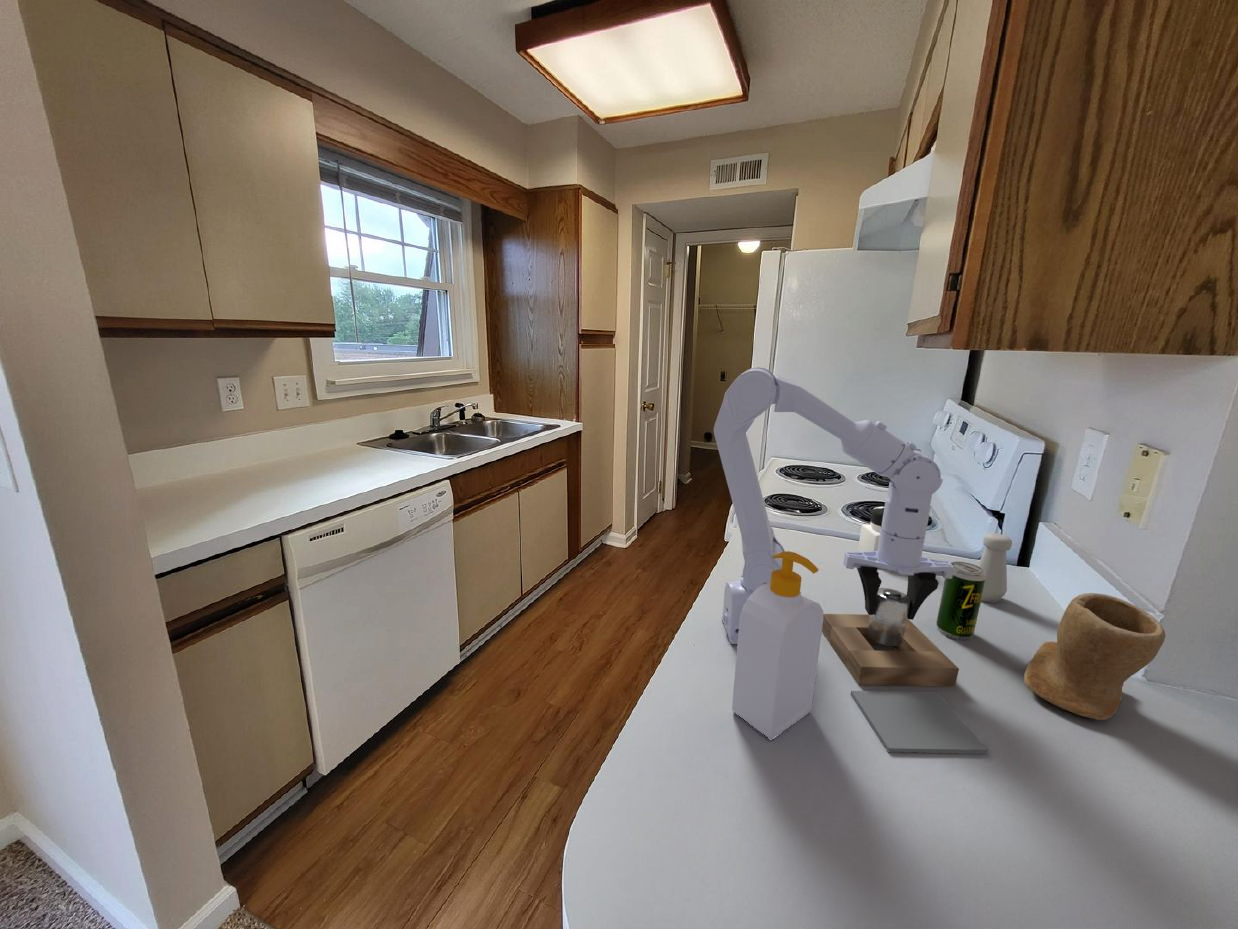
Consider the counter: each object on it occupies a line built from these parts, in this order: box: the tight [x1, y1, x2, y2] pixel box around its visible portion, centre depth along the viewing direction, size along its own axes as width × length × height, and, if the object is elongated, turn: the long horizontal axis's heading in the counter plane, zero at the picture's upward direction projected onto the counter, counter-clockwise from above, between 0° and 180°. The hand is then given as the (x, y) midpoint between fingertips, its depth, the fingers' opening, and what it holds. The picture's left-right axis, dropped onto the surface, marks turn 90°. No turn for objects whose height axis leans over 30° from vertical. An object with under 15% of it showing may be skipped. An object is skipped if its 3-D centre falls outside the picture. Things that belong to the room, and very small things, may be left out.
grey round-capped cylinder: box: [867, 587, 910, 647], centre depth 76 cm, size 5×5×8 cm
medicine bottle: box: [857, 506, 885, 552], centre depth 111 cm, size 7×7×12 cm
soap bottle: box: [731, 550, 824, 740], centre depth 62 cm, size 9×7×23 cm
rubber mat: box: [850, 690, 989, 755], centre depth 64 cm, size 12×10×1 cm
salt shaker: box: [977, 532, 1013, 604], centre depth 95 cm, size 6×6×13 cm
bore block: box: [822, 613, 960, 687], centre depth 77 cm, size 14×14×3 cm
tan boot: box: [1023, 592, 1166, 721], centre depth 68 cm, size 15×12×15 cm
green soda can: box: [936, 561, 986, 641], centre depth 83 cm, size 5×5×12 cm
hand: (888, 613), depth 76 cm, fingers closed on grey round-capped cylinder, 5 cm apart
